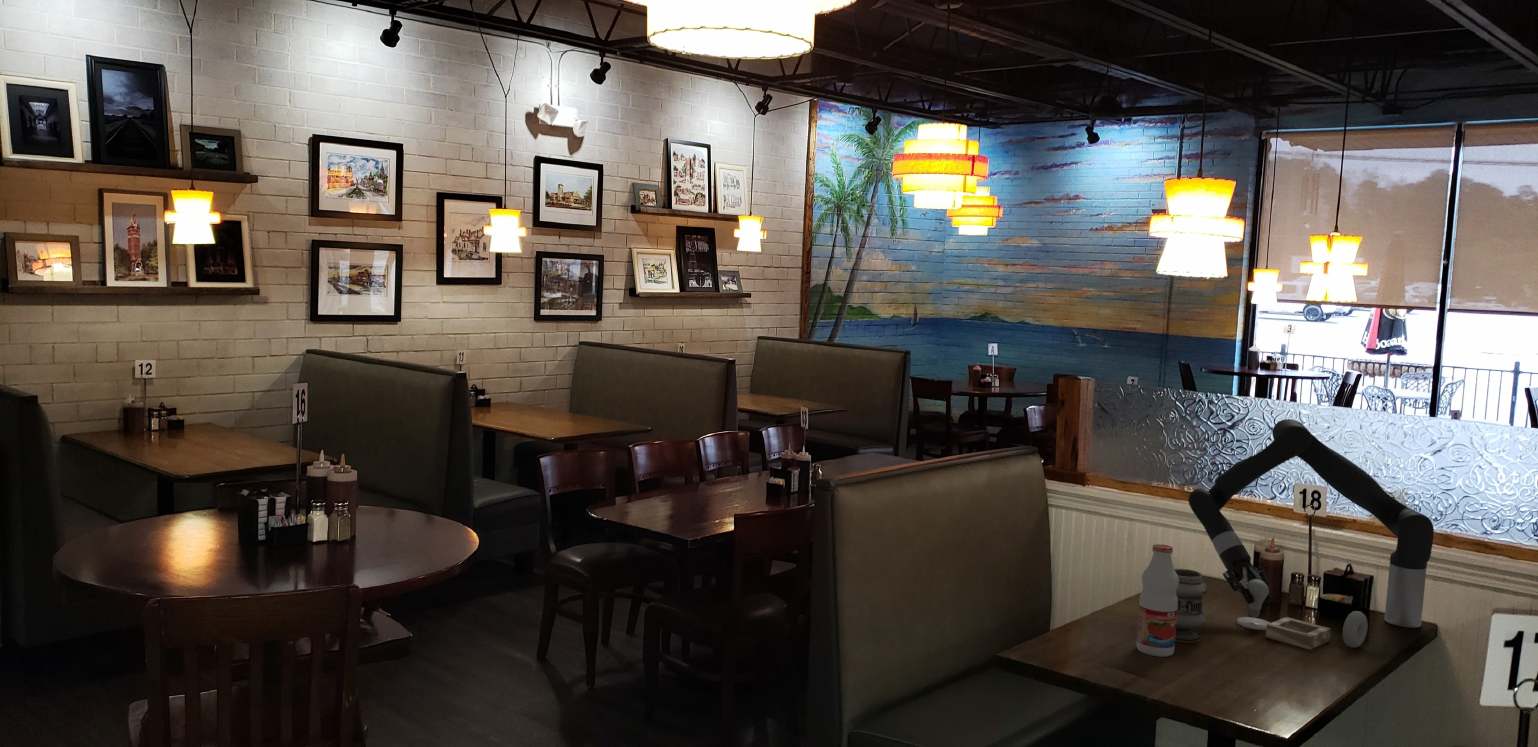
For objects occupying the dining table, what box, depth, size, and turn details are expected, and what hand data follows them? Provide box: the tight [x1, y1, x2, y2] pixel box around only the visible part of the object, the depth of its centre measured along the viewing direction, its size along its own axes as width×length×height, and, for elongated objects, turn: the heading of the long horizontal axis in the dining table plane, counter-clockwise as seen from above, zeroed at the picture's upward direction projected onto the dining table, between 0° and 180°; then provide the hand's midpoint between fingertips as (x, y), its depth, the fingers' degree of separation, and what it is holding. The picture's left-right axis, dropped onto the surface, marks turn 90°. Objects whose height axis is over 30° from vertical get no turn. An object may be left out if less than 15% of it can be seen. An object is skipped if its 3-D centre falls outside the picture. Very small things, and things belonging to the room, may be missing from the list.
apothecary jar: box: [1174, 568, 1209, 644], centre depth 292 cm, size 12×12×18 cm
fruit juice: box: [1136, 543, 1179, 658], centre depth 279 cm, size 9×9×28 cm
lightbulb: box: [1247, 578, 1270, 618], centre depth 305 cm, size 6×6×11 cm
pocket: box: [1265, 616, 1331, 651], centre depth 294 cm, size 12×12×4 cm
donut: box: [1342, 610, 1369, 649], centre depth 289 cm, size 10×3×10 cm, turn 129°
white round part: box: [1236, 616, 1271, 631], centre depth 305 cm, size 9×9×1 cm
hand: (1260, 601), depth 303 cm, fingers closed on lightbulb, 6 cm apart
